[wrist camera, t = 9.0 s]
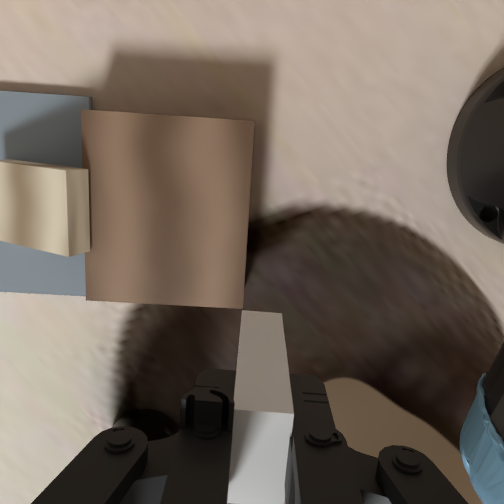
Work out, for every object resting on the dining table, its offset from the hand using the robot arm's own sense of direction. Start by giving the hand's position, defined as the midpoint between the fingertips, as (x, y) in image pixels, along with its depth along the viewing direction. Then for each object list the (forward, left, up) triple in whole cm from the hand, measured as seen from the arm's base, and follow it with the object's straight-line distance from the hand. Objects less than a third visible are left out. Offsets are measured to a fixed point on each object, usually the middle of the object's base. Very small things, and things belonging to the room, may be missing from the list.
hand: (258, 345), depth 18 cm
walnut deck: (+6, -2, -22) cm, 22 cm away
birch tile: (+15, -1, -19) cm, 25 cm away
